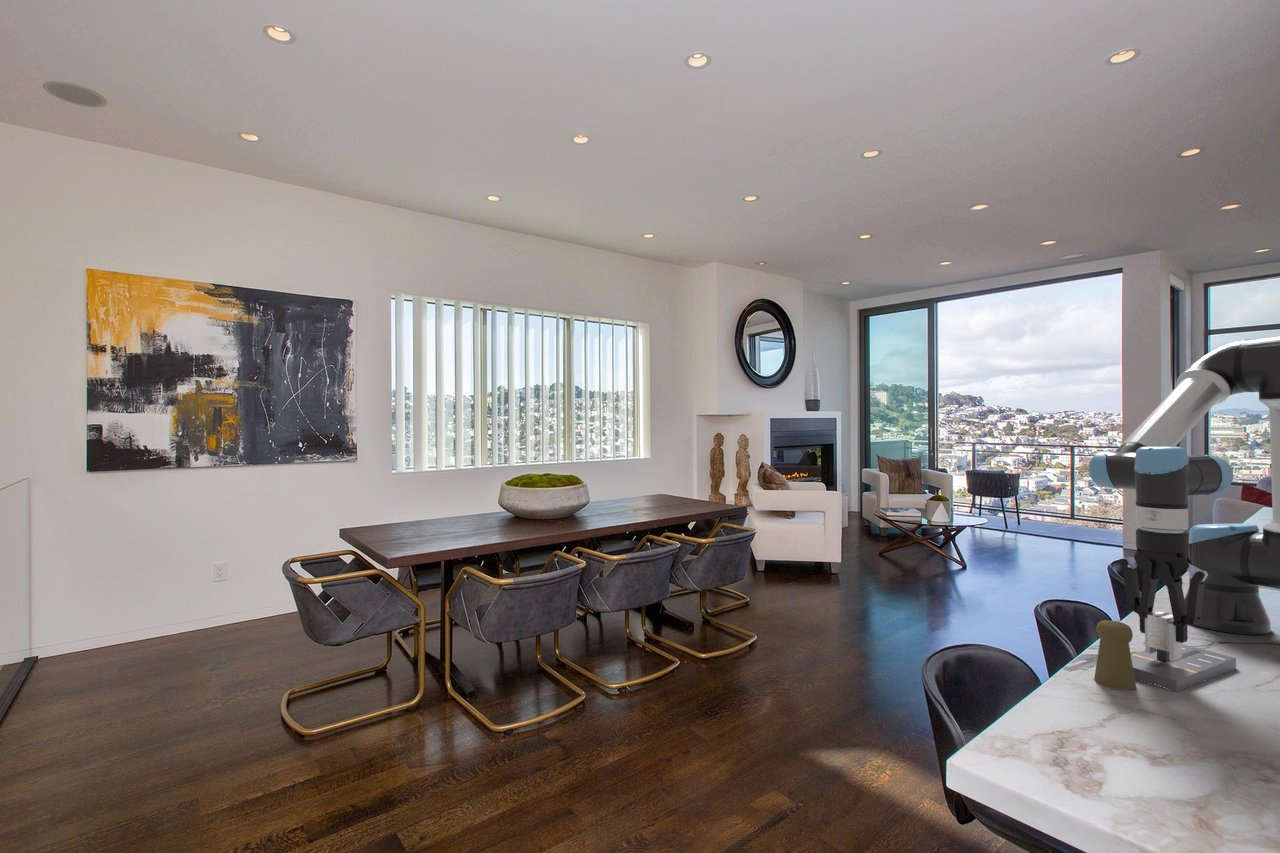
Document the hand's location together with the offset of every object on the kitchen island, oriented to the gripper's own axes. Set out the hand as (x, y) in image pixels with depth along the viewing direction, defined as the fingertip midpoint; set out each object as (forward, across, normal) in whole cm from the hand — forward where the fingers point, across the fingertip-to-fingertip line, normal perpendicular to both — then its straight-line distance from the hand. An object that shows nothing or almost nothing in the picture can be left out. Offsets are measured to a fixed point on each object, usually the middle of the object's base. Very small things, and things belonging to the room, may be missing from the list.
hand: (1163, 654), depth 115 cm
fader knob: (+1, 0, 0) cm, 1 cm away
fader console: (+4, 0, +4) cm, 5 cm away
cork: (+4, -2, -12) cm, 13 cm away
